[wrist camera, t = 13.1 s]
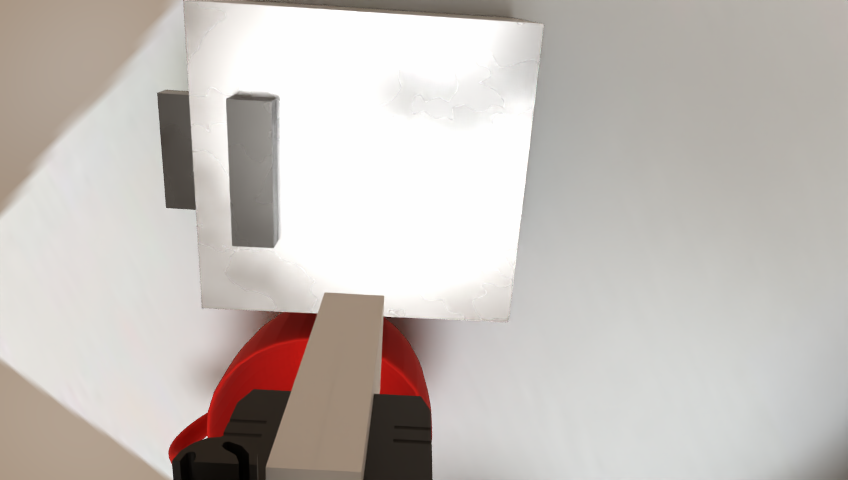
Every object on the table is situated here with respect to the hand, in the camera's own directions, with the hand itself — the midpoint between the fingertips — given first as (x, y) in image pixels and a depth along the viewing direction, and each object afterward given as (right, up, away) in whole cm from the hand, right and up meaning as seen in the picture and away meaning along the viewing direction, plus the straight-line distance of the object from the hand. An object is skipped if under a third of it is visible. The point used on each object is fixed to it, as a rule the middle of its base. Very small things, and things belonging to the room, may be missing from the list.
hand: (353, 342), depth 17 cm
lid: (-1, +6, +16) cm, 17 cm away
